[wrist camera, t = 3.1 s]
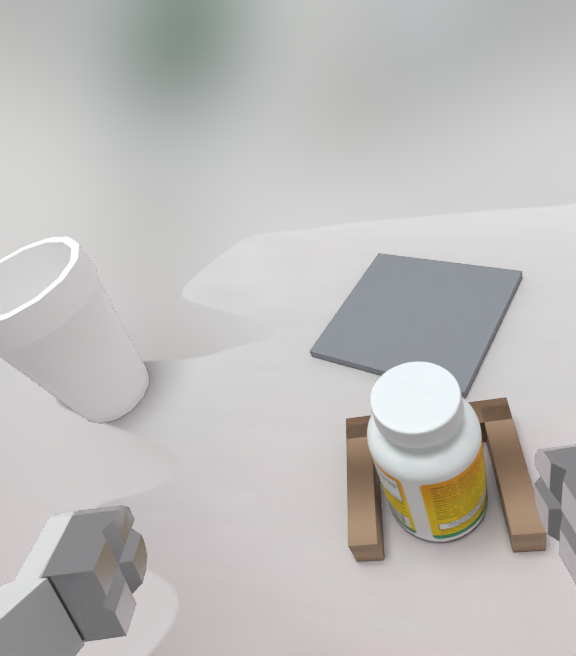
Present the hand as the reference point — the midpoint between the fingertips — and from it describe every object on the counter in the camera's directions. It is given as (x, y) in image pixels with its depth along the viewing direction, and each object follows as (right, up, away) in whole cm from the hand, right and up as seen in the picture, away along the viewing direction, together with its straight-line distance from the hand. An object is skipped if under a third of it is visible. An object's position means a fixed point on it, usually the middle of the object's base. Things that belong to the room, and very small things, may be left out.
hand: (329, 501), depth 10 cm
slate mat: (+9, +4, +29) cm, 31 cm away
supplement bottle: (+8, -6, +19) cm, 21 cm away
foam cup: (-16, -2, +34) cm, 38 cm away
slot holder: (+8, -6, +19) cm, 21 cm away
